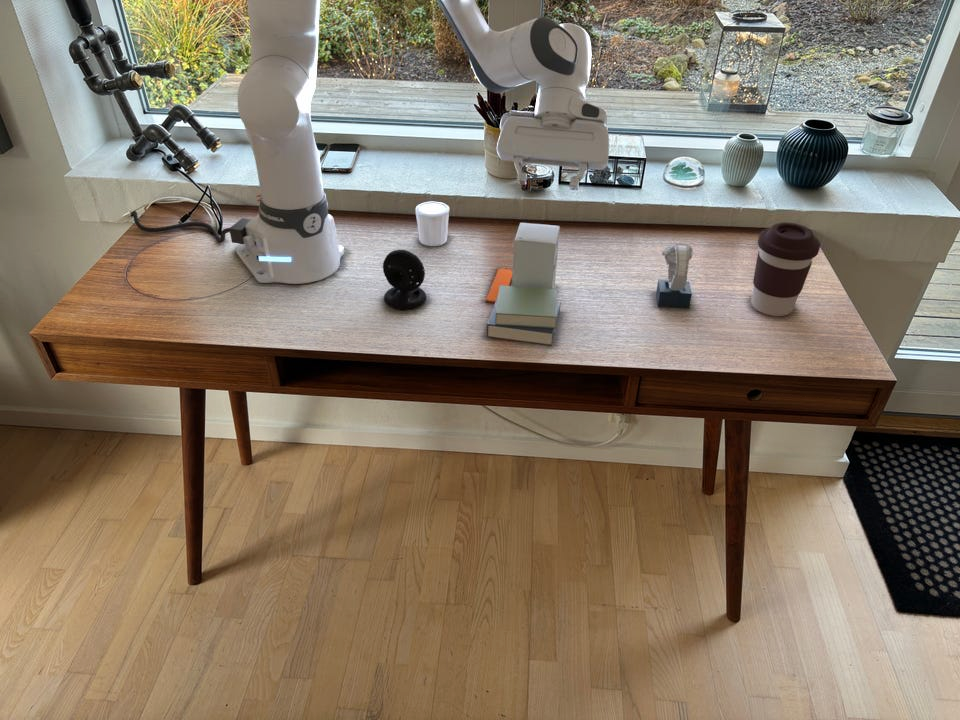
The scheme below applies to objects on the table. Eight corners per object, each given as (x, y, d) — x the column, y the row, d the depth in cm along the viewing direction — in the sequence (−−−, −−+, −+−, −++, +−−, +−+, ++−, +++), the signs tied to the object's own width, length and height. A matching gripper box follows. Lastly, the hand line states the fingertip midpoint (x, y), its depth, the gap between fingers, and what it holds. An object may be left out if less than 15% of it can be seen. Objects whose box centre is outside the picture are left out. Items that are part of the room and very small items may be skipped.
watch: (685, 290, 145) (695, 237, 138) (690, 314, 138) (701, 258, 132) (654, 288, 145) (663, 235, 139) (657, 311, 139) (667, 256, 132)
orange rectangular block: (498, 270, 150) (498, 268, 150) (514, 271, 150) (514, 270, 150) (485, 301, 141) (485, 299, 140) (502, 303, 140) (502, 302, 140)
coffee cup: (810, 319, 137) (834, 242, 129) (758, 323, 136) (778, 246, 127) (784, 290, 145) (804, 216, 137) (733, 294, 144) (751, 219, 135)
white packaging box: (550, 307, 139) (555, 244, 132) (509, 303, 140) (512, 239, 133) (556, 287, 145) (561, 225, 138) (516, 282, 146) (519, 221, 139)
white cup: (456, 237, 161) (456, 206, 157) (437, 250, 156) (436, 218, 152) (429, 229, 164) (428, 198, 160) (409, 241, 159) (408, 210, 155)
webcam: (376, 306, 139) (372, 256, 133) (395, 286, 145) (392, 237, 139) (416, 315, 137) (413, 264, 131) (433, 294, 142) (432, 245, 137)
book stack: (486, 337, 131) (487, 312, 129) (498, 305, 140) (499, 281, 137) (553, 346, 130) (555, 321, 127) (561, 313, 138) (563, 289, 135)
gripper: (500, 101, 141) (488, 173, 139) (614, 110, 138) (603, 184, 136) (504, 118, 147) (492, 187, 145) (613, 127, 144) (603, 198, 142)
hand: (547, 186), depth 140 cm, fingers open, 8 cm apart
